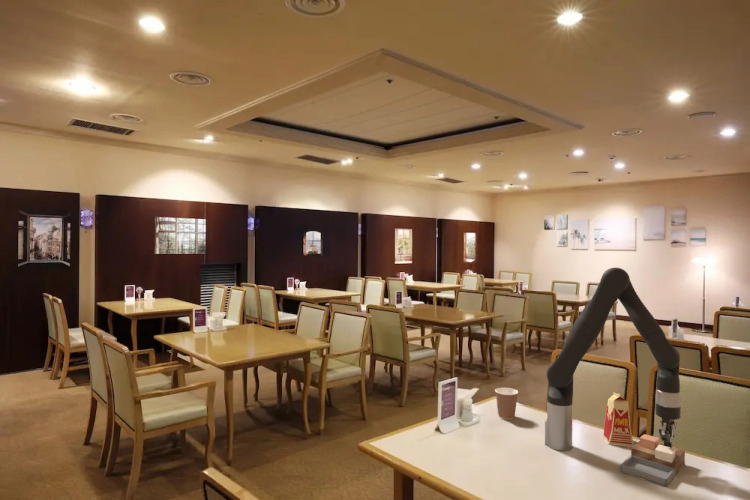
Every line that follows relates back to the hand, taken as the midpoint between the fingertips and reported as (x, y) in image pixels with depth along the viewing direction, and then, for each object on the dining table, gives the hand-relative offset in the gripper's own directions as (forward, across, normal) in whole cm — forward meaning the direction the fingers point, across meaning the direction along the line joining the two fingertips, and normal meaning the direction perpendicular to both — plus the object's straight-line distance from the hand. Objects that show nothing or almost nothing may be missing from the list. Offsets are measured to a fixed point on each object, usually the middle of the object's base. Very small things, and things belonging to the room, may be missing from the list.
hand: (667, 451), depth 165 cm
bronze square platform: (+6, -1, -4) cm, 7 cm away
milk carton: (+6, -12, -20) cm, 24 cm away
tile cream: (+1, +4, 0) cm, 4 cm away
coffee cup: (+6, -3, -66) cm, 66 cm away
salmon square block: (+1, -2, -6) cm, 7 cm away
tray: (+6, +10, -4) cm, 12 cm away
